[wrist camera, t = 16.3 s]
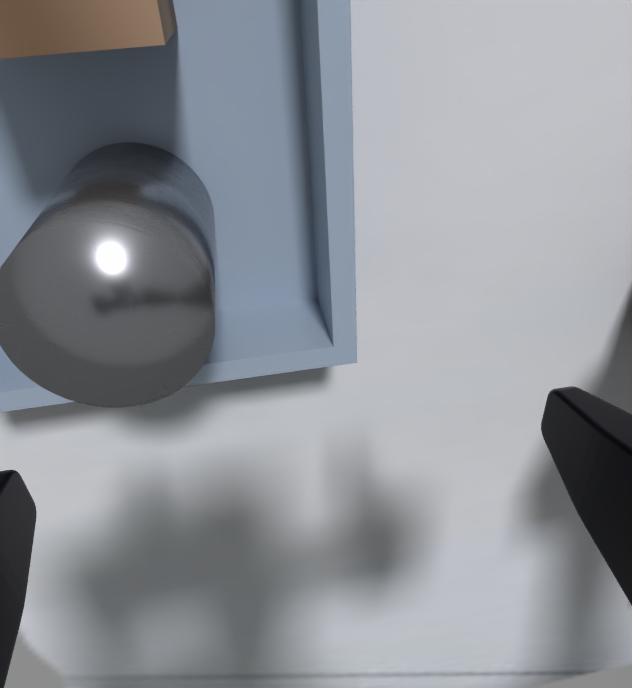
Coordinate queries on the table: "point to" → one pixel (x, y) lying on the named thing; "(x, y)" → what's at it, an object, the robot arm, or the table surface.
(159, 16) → the walnut cube
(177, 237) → the steel cylinder
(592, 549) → the table surface
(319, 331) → the tote
